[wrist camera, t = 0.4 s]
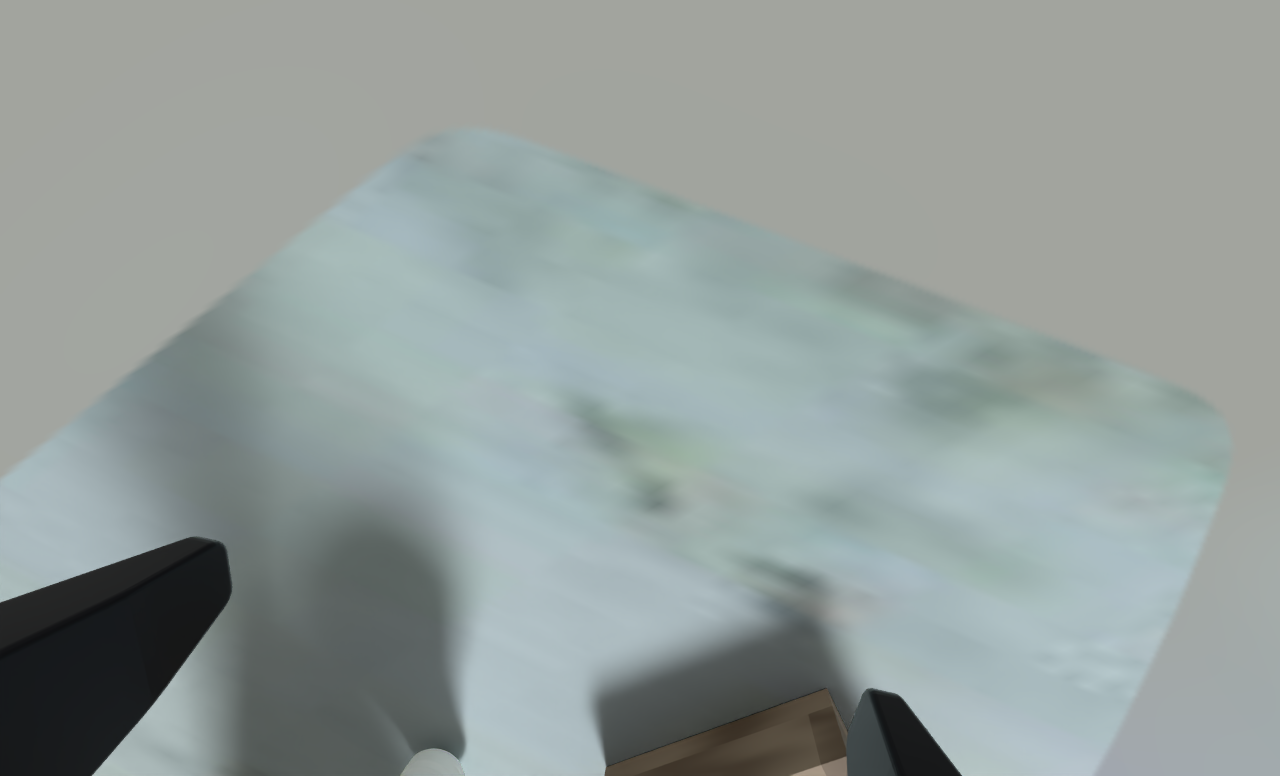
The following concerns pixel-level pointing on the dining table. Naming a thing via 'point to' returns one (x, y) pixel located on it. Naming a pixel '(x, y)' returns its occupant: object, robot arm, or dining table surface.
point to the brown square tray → (756, 745)
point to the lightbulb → (433, 764)
